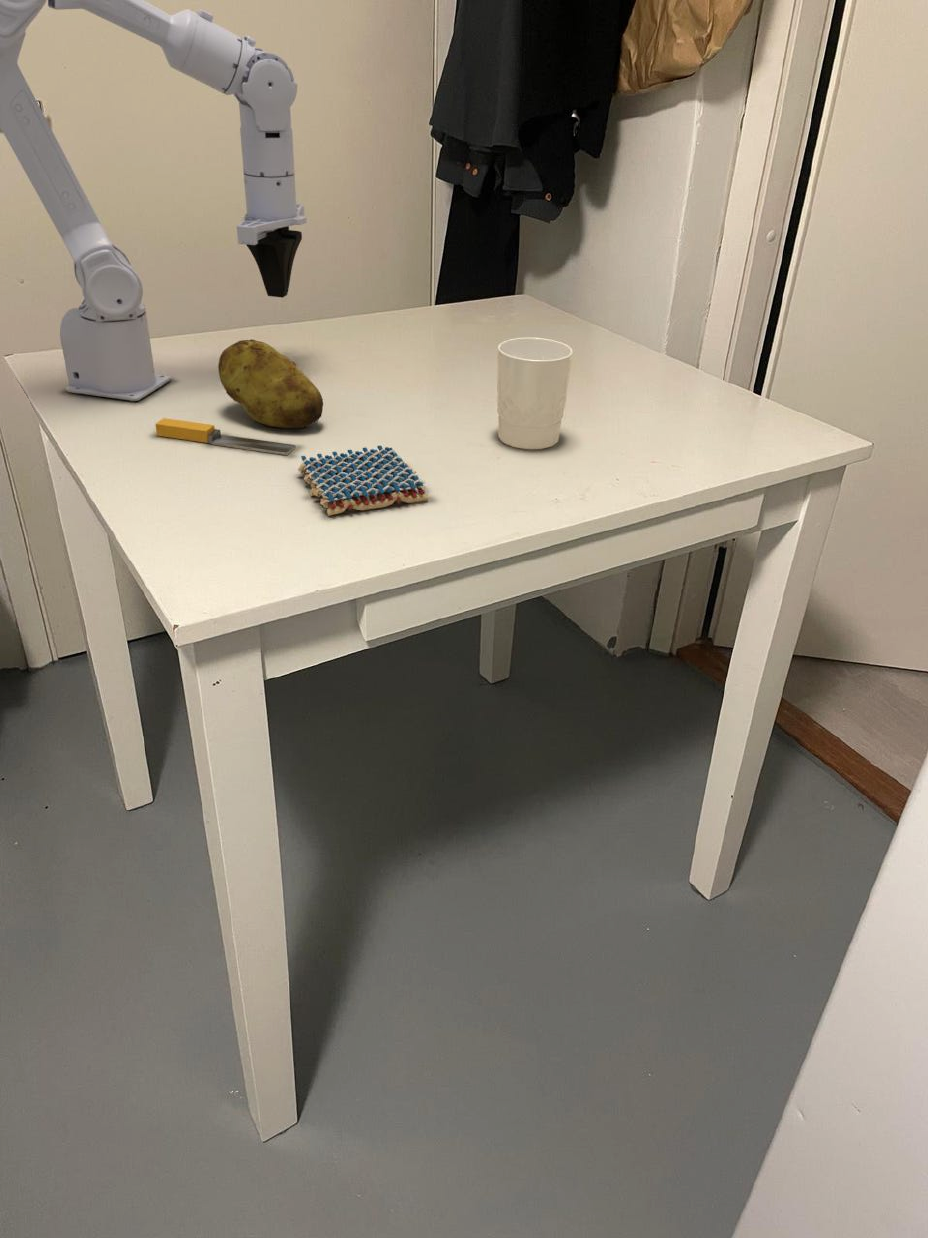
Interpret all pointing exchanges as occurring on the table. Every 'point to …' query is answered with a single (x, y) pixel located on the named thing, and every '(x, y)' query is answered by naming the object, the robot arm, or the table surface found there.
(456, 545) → the table surface
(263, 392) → the potato
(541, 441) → the white cup
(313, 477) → the woven mat
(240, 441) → the knife
